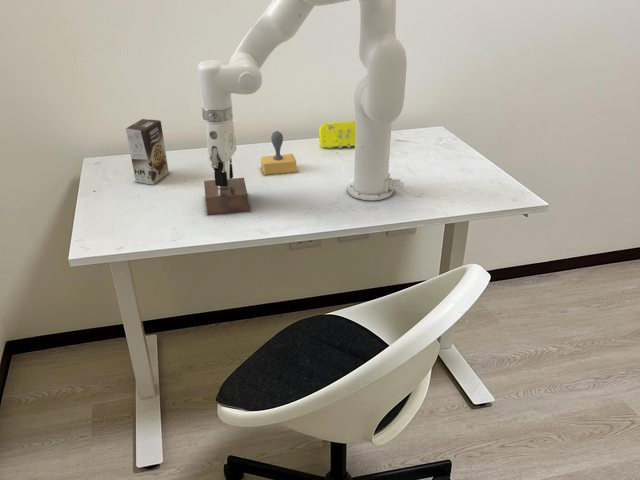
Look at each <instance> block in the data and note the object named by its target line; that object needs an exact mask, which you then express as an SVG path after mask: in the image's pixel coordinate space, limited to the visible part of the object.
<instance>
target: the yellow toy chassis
mask: <svg viewBox="0 0 640 480" xmlns="http://www.w3.org/2000/svg"><path fill="white" fill-rule="evenodd" d="M355 128H356V121H338V122H337V121H336V122H324V123H323V124H321V125H320V126H319V127H318V136H319V137H318V139H319V140H318V142H319V143H320V148H325V149H327V150H328V149H329V150H330V149H331V150H332V149H335V148H336V147H338V148H339V149H342V148H343V147H346V148H347V149H348V148H349V149H350V148H351V147H353V146H354V147H355Z"/></svg>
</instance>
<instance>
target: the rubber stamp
mask: <svg viewBox="0 0 640 480" xmlns="http://www.w3.org/2000/svg"><path fill="white" fill-rule="evenodd" d="M270 137H271V140H270V141H271V143H272V146H273V148H274V151H275V155H266V156H265V155H264V156H261V157H260V168H261V171H262V173H263V176H269V175H280V174H288V173H289V174H290V173H297V172H298V171H297V159H296V157H295V156H294V154H293V153H287V154H281V149H282V146H283V141H284V136H283V133H282V132H280V131H278V130H275V131H274V132H272V134H271V136H270Z"/></svg>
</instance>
